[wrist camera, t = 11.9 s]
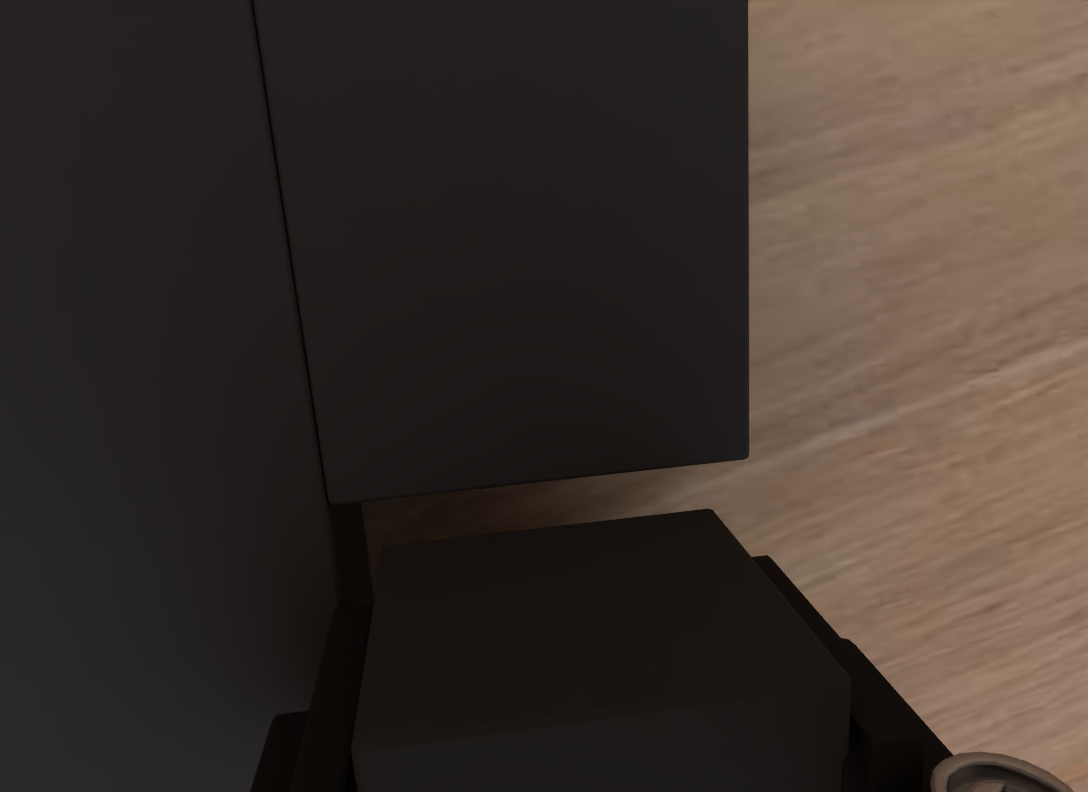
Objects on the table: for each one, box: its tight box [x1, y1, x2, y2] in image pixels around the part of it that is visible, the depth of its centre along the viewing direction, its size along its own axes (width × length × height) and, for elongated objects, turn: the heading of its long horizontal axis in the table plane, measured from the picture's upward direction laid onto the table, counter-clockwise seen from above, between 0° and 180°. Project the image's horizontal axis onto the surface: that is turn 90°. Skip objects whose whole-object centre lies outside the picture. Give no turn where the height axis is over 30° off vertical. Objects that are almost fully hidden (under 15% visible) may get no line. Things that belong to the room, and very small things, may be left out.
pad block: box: [351, 509, 851, 792], centre depth 10 cm, size 4×4×4 cm
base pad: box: [0, 0, 749, 792], centre depth 12 cm, size 18×18×3 cm
